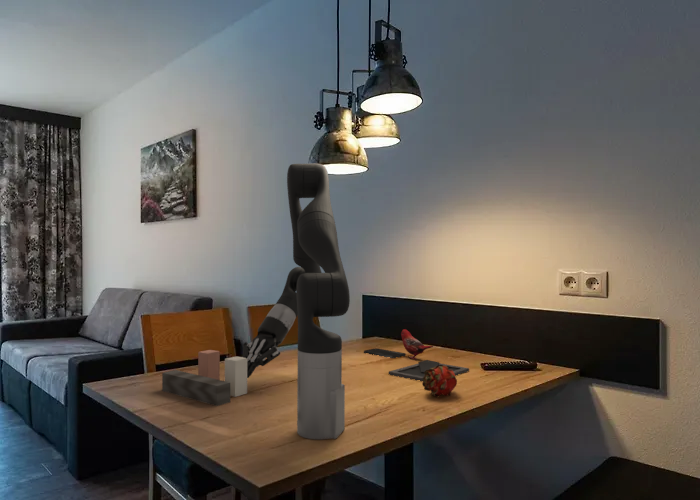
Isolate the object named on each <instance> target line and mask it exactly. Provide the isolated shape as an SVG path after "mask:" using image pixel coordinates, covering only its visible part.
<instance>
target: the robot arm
mask: <svg viewBox="0 0 700 500" xmlns="http://www.w3.org/2000/svg"><path fill="white" fill-rule="evenodd" d="M286 174H287V177H286V186H287V196H288V197H287V198H288V207H289V215H290V222H291V229H292V253H293V254H292V255H293V257H292V259H293V263H295V265H297V266H296V267H293V268H291V270H290V271H289V272H288V273H287V274H288V275H287V278H286V281H285V285H284V287H283V291H282V293H281V295H280V296H279V298H278V299H277V301H276V303H275V304H274V306H273V307H272V308H271V309H270V310H269V312H268V313H267V315H266V316H265V317H264V319H263V321H262V322H261V324H259V326H258V329H257V335H256V336H255V337H254V338H253V339H252V341H251V342H247V341H245V342H243V344H242V357H243V358H247V379H249V378H250V377H251V376H252V375H253V372H255V369H257V368H258V367H259V366H261V367H264V366H265V365H267V364H269V363H270V362H272V361H273V360H275V359H276V358H278V357H279V356H280V355H281V352H280V350H279V349H278V346H279V345H281V344H282V343H283V341H284V340H285V338H286V337H287V334H288V333H289V331H290V330H291V328H292V327H293V325H294V322H295V320H296V319H297V386H296V387H297V391H296V392H297V395H296V396H297V400H296V401H297V407H296V408H297V413H296V415H297V417H296V418H297V421H296V422H297V424H296V425H297V435H298V436H300V437H301V438H304V439H308V440H328V439H333V440H335V439H337V438H338V437H339V436H340V435H341V434H342V432H344V430H345V427H346V426H345V420H346V419H345V413H346V412H345V411H346V410H345V409H346V407H345V404H346V403H345V401H346V400H345V396H346V395H345V393H346V392H345V391H346V389H345V386H346V385H345V384H344V383H343V381H342V380H343V378H342V377H343V376H342V375H343V374H342V373H343V372H342V365H343V363H342V362H343V353H342V351H343V349H342V348H343V344H342V343H343V341H342V337H341V335H339V334H338V333H335V332H332V331H328V330H325V329H323V328H322V327H319V326H318V325H317V324H316V323H315V322H314V318H326V317H327V318H328V317H329V318H330V317H331V318H333V317H335V318H336V317H340V316H341V317H342V316H344V315H345V314H347V312H348V311H349V307H350V304H351V303H350V302H351V301H350V289H349V288H350V287H349V283H348V280H347V276H346V275H347V274H346V272H345V267H344V265H343V262H342V258H341V253H340V249H339V248H340V247H339V241H338V240H339V239H338V238H339V237H338V232H337V225H336V221H335V217H334V213H333V208H332V202H331V191H330V190H331V189H330V179H329V173H328V170H327V168H326V166H325V165H324V164H321V163H292V164H290V165H289V166H288V169H287V172H286ZM300 199H312V200H311V201H310V202H309V203H308V204H306V206H305V207H304V209H302V206H301V200H300ZM322 270H323V272H322Z"/></svg>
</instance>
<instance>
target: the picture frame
mask: <svg viewBox="0 0 700 500" xmlns="http://www.w3.org/2000/svg"><path fill="white" fill-rule="evenodd" d="M443 365H444V366H447V367H448V368H449V369H451V370H452V371H453V372H454V373H455V375H457V376H459V375H458V374H460V375H462V374H461V373H463V374H465V373H464V372H466V373H468V372H467V371H469V372H470V368H469V367H465V366H464V367H463V366H457V365H453V364H452V365H451V364H445V363H441V362H439V361H433V360H431V359H426V360H425V359H424V360H421V361H418V363H416V364H411V365H407V366H404V367H400V368H397V369H393V370H389V371H388V375H389V374H390V375H389V376H393V375H394V376H393V377H398V376H399V378H402V377H404V378H403V379H407V378H410V379H409V380H412V379H415V380H414V381H417V380H420V381H419V382H422V381H423V377H424V376H425V374H424V372H425V370H429V369H430V368H434V367H436V366H443Z"/></svg>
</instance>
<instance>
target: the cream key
mask: <svg viewBox="0 0 700 500" xmlns="http://www.w3.org/2000/svg"><path fill="white" fill-rule="evenodd" d="M224 381H226V382H230V397H234V398H235V397H239V396H242V395H245V394H248V378H247V358H243V356H232V357H231V356H230V357H228V358H224Z"/></svg>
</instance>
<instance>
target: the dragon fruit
mask: <svg viewBox="0 0 700 500" xmlns="http://www.w3.org/2000/svg"><path fill="white" fill-rule="evenodd" d="M424 374H425V376H424V377H423V382H421V383H422V387H423V390H425V391H428V392H429V391H430V392H431V395H432V396H434V397H435V398H439V397H440V396H441V395H443V396H445V397H447V396H448V397H451V395H452V392H453V391H454V389H455V387H457V385H458V379H457V376H455V373H454V372H453V371H452V370H451V369H449V368H448V367H447V366H444V365H443V366H436V367H434V368H430V369H429V370H425V372H424Z"/></svg>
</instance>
